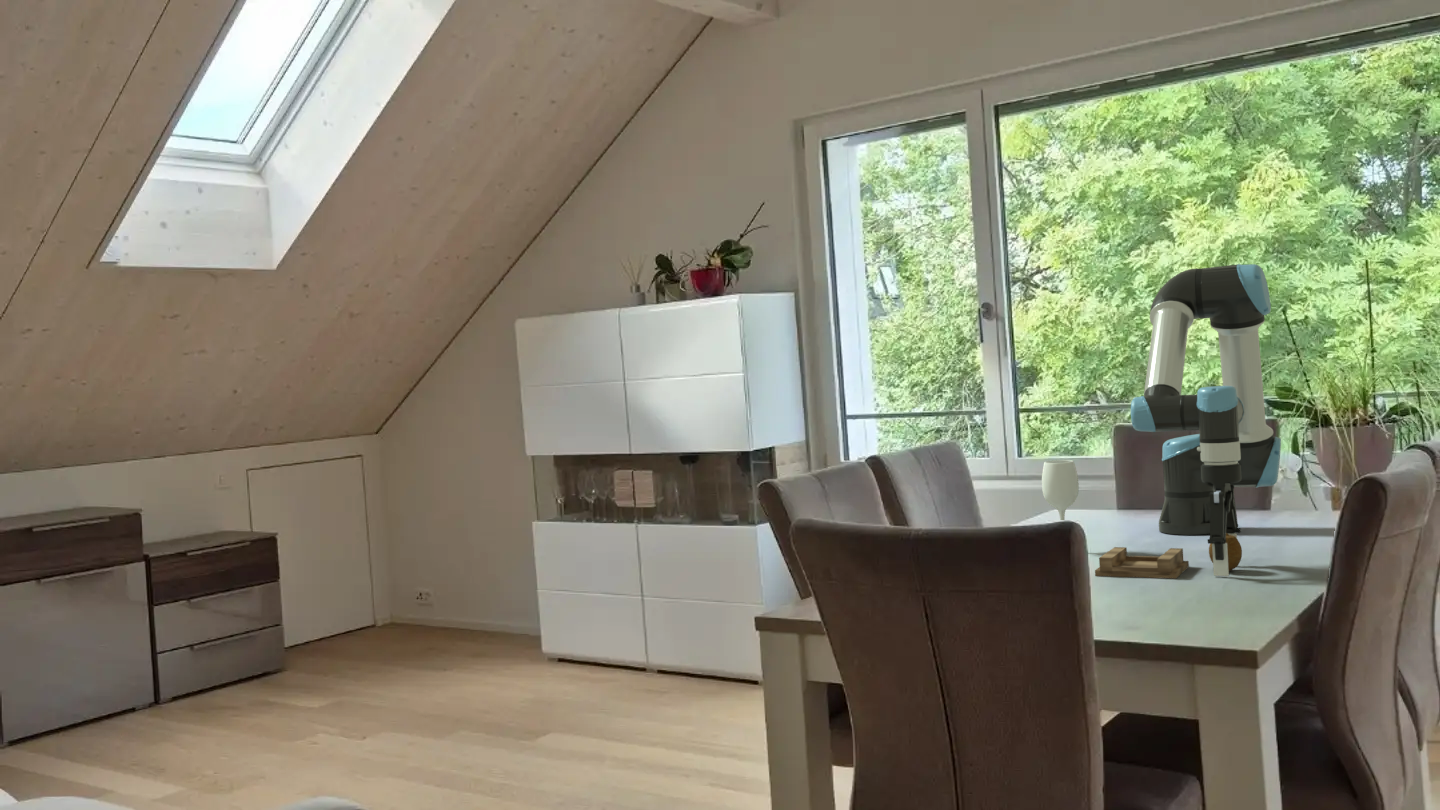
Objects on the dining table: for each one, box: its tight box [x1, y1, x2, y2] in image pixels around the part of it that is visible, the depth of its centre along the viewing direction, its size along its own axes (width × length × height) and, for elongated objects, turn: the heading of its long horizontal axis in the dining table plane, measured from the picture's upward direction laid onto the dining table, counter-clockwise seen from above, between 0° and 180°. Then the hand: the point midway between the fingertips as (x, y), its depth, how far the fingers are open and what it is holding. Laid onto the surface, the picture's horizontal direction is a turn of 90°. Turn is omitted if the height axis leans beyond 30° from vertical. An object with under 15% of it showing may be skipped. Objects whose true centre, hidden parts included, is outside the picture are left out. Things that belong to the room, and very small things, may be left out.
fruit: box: [1208, 533, 1243, 572], centre depth 253 cm, size 6×6×8 cm
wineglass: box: [1041, 459, 1080, 521], centre depth 288 cm, size 9×9×21 cm
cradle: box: [1094, 546, 1190, 579], centre depth 259 cm, size 13×16×4 cm
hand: (1226, 570), depth 253 cm, fingers open, 11 cm apart
